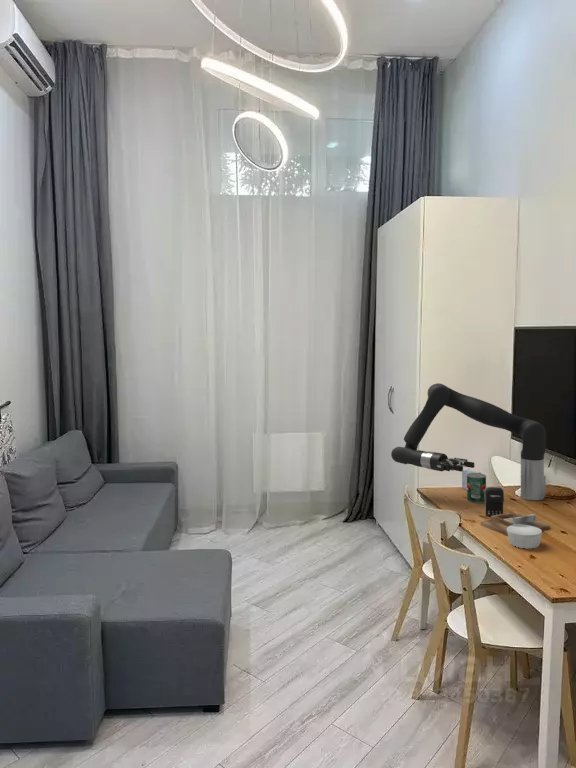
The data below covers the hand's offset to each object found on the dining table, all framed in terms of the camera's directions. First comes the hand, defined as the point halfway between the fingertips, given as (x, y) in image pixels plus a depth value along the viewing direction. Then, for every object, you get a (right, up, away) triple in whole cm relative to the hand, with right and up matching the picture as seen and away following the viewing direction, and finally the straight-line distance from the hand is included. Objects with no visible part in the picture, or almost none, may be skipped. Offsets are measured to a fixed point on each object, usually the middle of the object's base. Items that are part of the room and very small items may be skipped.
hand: (468, 467), depth 236 cm
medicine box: (+11, -15, +31) cm, 36 cm away
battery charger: (+8, -18, -7) cm, 21 cm away
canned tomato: (+8, -17, +15) cm, 24 cm away
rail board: (+11, -19, -19) cm, 30 cm away
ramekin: (+8, -21, -37) cm, 43 cm away
